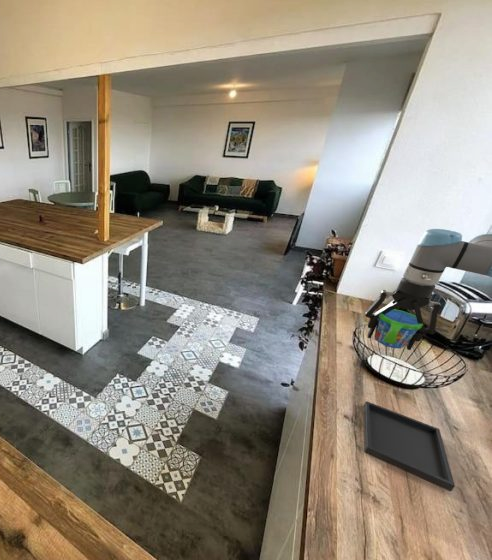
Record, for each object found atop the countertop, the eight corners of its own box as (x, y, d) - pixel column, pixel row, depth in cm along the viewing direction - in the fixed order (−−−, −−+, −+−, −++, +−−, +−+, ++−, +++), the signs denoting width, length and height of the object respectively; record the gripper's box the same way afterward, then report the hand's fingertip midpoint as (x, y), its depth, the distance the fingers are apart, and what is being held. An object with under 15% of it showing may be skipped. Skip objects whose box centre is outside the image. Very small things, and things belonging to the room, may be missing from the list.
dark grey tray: (435, 433, 88) (439, 428, 88) (450, 491, 74) (455, 486, 73) (363, 405, 97) (365, 400, 96) (364, 452, 83) (367, 447, 82)
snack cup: (376, 327, 110) (388, 302, 106) (415, 342, 102) (430, 316, 98) (360, 342, 102) (371, 316, 97) (401, 360, 94) (416, 332, 90)
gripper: (372, 275, 95) (346, 335, 105) (475, 296, 83) (435, 361, 93) (372, 267, 101) (347, 325, 111) (468, 286, 89) (431, 349, 99)
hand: (388, 341), depth 102 cm, fingers closed on snack cup, 9 cm apart
